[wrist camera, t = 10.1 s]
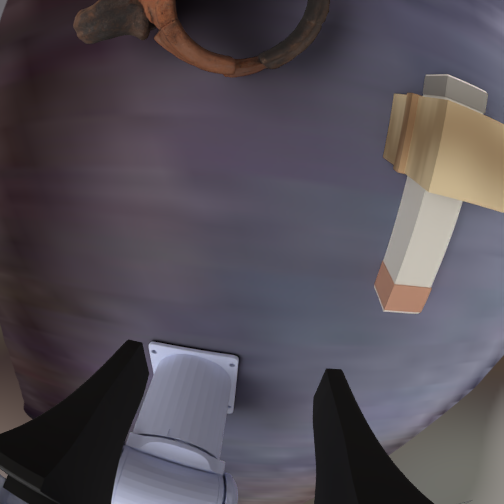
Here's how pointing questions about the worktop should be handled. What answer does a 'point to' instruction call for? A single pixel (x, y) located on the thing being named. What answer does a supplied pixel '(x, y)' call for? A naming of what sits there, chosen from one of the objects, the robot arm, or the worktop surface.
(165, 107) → the worktop surface
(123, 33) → the pottery mug
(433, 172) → the tan wooden brick
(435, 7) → the worktop surface
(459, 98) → the white bar
